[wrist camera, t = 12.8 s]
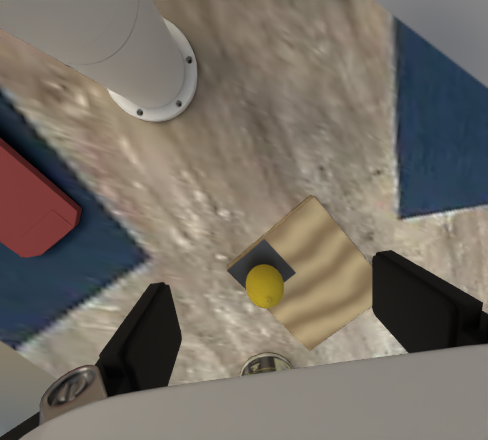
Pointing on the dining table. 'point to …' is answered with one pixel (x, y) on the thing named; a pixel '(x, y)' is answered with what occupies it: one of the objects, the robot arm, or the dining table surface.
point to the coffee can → (265, 364)
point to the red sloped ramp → (31, 207)
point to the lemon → (265, 286)
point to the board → (311, 273)
